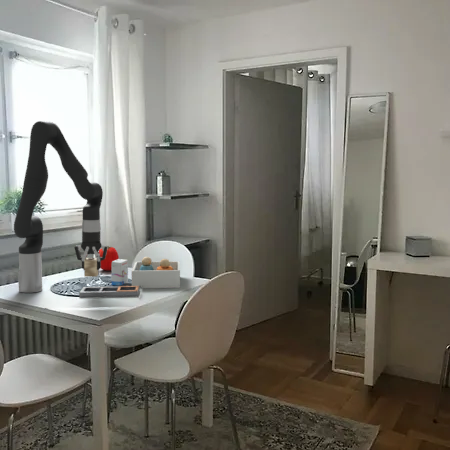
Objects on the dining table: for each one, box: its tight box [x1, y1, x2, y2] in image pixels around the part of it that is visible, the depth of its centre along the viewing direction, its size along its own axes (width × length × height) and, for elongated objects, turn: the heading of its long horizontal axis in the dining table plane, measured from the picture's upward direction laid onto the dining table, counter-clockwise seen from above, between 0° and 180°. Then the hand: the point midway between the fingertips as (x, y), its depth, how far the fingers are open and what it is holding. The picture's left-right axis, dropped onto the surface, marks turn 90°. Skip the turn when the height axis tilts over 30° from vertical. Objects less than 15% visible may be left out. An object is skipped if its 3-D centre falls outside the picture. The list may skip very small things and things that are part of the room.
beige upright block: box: [83, 257, 99, 278], centre depth 216 cm, size 5×5×7 cm
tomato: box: [99, 245, 120, 271], centre depth 271 cm, size 12×12×13 cm
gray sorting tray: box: [78, 285, 140, 298], centre depth 218 cm, size 24×10×3 cm, turn 96°
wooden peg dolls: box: [140, 256, 173, 271], centre depth 245 cm, size 18×17×12 cm
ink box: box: [111, 258, 129, 286], centre depth 237 cm, size 9×5×12 cm, turn 168°
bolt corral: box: [131, 260, 181, 289], centre depth 244 cm, size 22×23×8 cm
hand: (91, 269), depth 216 cm, fingers closed on beige upright block, 5 cm apart
